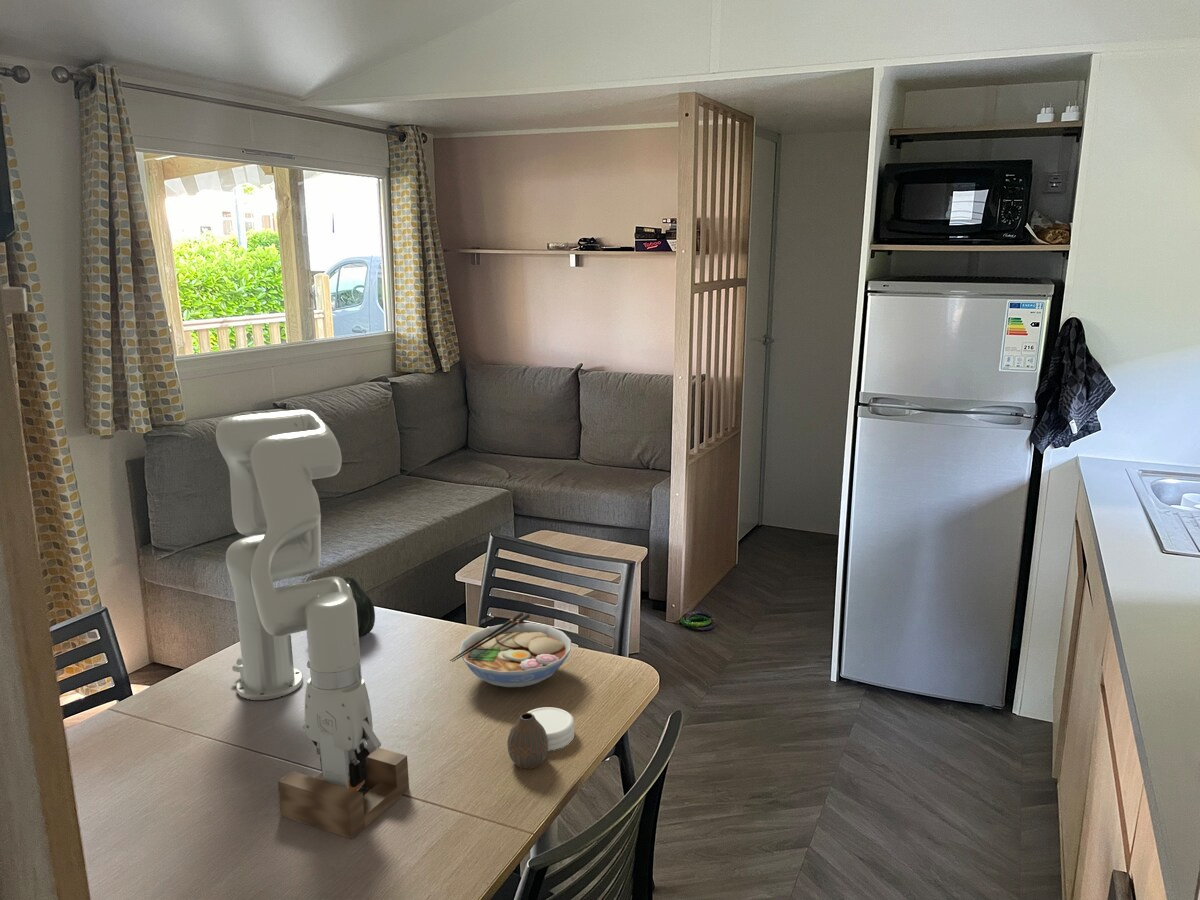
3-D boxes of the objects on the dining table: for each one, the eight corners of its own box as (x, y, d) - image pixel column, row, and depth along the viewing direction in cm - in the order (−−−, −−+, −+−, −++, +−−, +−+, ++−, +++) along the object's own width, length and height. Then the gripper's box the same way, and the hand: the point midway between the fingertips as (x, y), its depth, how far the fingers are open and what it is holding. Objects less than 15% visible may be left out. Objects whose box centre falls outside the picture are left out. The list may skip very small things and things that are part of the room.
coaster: (579, 725, 165) (579, 708, 164) (568, 755, 155) (567, 737, 155) (526, 720, 167) (526, 703, 166) (512, 750, 157) (512, 732, 156)
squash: (283, 622, 197) (317, 579, 192) (325, 599, 211) (359, 559, 206) (325, 669, 196) (361, 627, 190) (365, 643, 209) (400, 604, 204)
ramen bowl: (525, 721, 166) (523, 681, 164) (432, 690, 178) (430, 652, 176) (596, 668, 187) (596, 631, 185) (509, 643, 198) (508, 609, 197)
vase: (554, 755, 155) (553, 709, 153) (539, 777, 149) (537, 729, 147) (518, 748, 157) (516, 703, 155) (501, 769, 151) (499, 722, 149)
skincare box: (348, 804, 139) (343, 735, 136) (323, 801, 140) (317, 732, 137) (366, 782, 144) (361, 715, 142) (342, 779, 145) (336, 712, 143)
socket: (281, 815, 139) (277, 781, 138) (341, 768, 152) (339, 736, 150) (352, 839, 133) (349, 803, 132) (409, 788, 146) (407, 755, 144)
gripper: (276, 672, 138) (286, 777, 142) (364, 695, 131) (372, 804, 135) (310, 652, 144) (319, 753, 148) (396, 673, 137) (402, 778, 141)
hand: (344, 776), depth 141 cm, fingers closed on skincare box, 5 cm apart
